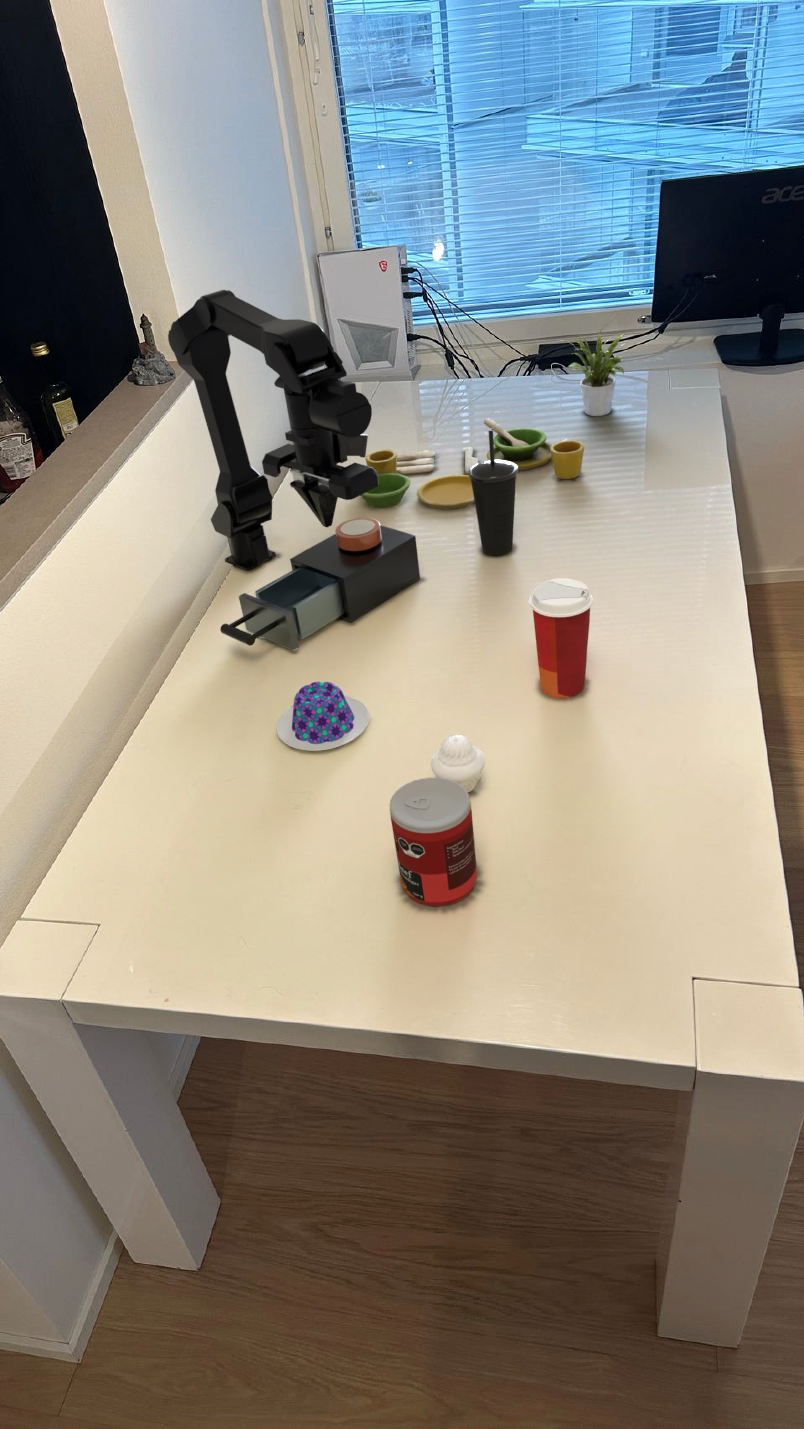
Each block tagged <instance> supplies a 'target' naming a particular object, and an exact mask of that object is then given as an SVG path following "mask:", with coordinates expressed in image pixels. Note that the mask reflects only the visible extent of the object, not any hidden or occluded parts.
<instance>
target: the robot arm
mask: <svg viewBox="0 0 804 1429" xmlns="http://www.w3.org/2000/svg"><path fill="white" fill-rule="evenodd" d="M230 336H232V337H233V338H234V339H237V340H239V341H241V343H242V342H243V343H244V344H245V345H248V346H250V347H252V348H254V349H256V350H257V351H259V352H260V353H261V354H263V356H264V361H265V364H266V366H268V367H269V368H270V369H271V370H272V371H274V372H275V373H276V374H277V375H278V377H277V378H276V379H275V381H274V383H273V384H274V386H275V388H280V389H282V390H283V393H284V400H285V404H286V411H287V415H288V416H287V417H288V422H289V427H290V430H289V431H286V432H284V435H285V440H286V441H289V442H292V444H291V443H287V444H285V445H282V446H279V447H277V448H276V449H273V450H271V451H269V452H267V453H265V454H264V456H263V458H262V461H261V464H262V469H263V474H262V475H261V474H260V473H259V472H258V471H257V470H256V469H255V468H254V467H253V466H252V465H251V462H250V459H249V455H248V451H247V447H246V444H245V440H244V436H243V433H242V429H241V424H240V420H239V417H238V414H237V410H236V406H235V403H234V399H233V398H234V397H233V394H232V391H231V388H230V384H229V381H228V377H227V370H228V367H229V362H230V359H231V354H232V351H231V342H230V339H229V337H230ZM167 340H168V345H169V347H170V349H171V351H172V352H173V354H174V357H175V359H176V362H177V364H178V366H179V367H180V368H181V369H182V370H183V371H184V372H185V373H186V374H187V375H188V376H189V377H190V378H192V380H193V382H194V385H195V388H196V392H197V396H198V399H199V402H200V406H201V409H202V413H203V417H204V421H205V424H206V427H207V430H208V434H209V437H210V441H211V445H212V448H213V452H214V455H215V458H216V462H217V466H218V469H219V474H218V478H217V482H216V485H215V489H214V491H215V496H216V501H217V502H216V503H217V506H216V508H215V510H214V511H213V514H212V516H211V517H210V522H211V524H212V527H213V530H214V531H215V532H216V533H218V534H220V535H222V536H225V537H226V538H227V542H228V547H229V551H230V555H229V556H227V557H225V558H224V562H225V563H226V564H230V565H232V566H235V567H238V568H240V569H243V570H244V571H252V570H253V569H255V568H257V567H259V566H261V565H262V564H264V563H266V562H268V561H270V560H271V559H274V558H275V557H276V556H277V552H276V551H274V550H270V549H269V545H268V541H267V536H266V535H265V530H264V525H262V524H264V523H267V522H270V521H272V520H273V499H274V497H273V495H272V493H271V491H270V490H271V489H270V487H269V480H268V478H267V477H266V476H269V477H272V478H277V477H279V476H280V474H281V473H282V470H281V468H282V467H283V468H287V469H289V473H291V474H292V479H293V480H292V481H291V482H289V485H290V487H291V488H293V489H294V490H295V492H296V493H297V494H298V495H299V496H300V498H301V499H302V500H303V501H304V502H305V504H306V505H307V507H308V508H309V509H310V511H311V512H312V513H313V515H314V516H315V517H316V519H317V520H318V521H319V523H320V524H321V525H322V527H324V528H330V527H332V525H333V523H334V522H333V521H334V517H335V513H336V507H337V503H338V499H342V500H345V501H351V500H354V499H356V498H358V497H361V496H360V495H362V494H364V493H366V492H368V491H370V490H372V489H374V488H376V487H378V486H379V483H378V475H377V471H376V470H375V469H373V468H372V467H369V466H367V465H366V464H362V463H357V462H353V463H351V464H348V465H347V466H342V465H340V464H343V463H345V462H348V460H349V459H348V457H360V458H365V457H366V456H367V455H366V454H367V446H368V440H369V434H366V433H365V432H366V431H367V429H368V428H369V426H370V424H371V420H372V415H373V409H372V404H371V403H370V402H369V401H370V400H369V399H368V398H367V396H366V395H365V394H363V393H361V392H358V391H357V385H356V383H355V382H353V381H343V380H340V379H343V378H345V377H347V375H348V373H347V371H346V369H345V367H344V365H343V363H344V361H343V360H342V359H341V357H340V355H338V353H337V351H336V350H335V349H334V347H333V345H332V344H331V341H330V340H329V338H328V336H327V335H326V333H325V332H324V330H323V329H322V327H321V326H320V325H318V324H317V323H315V322H313V321H309V320H303V319H297V318H295V319H282V318H279V317H277V316H275V315H273V314H270V313H268V312H267V311H265V310H263V309H260V308H259V307H257V306H255V305H253V304H251V303H250V302H248V301H245V300H243V299H242V298H239V297H237V296H236V295H235V293H234V292H232V290H229V289H221V290H218V291H214V292H211V293H207V294H204V295H202V296H200V297H199V298H198V299H197V300H196V301H195V302H194V304H193V306H192V307H191V308H189V309H188V310H187V311H186V312H184V313H183V314H182V315H181V316H179V317H178V318H177V319H176V321H173V322H171V326H170V329H169V330H168V334H167ZM324 366H325V367H324ZM321 367H324V368H321ZM318 368H321V369H319V370H316V369H318ZM314 370H315V371H314ZM311 371H313V372H311ZM308 372H311V373H308ZM306 373H308V374H306Z"/></svg>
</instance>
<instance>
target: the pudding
mask: <svg viewBox="0 0 804 1429" xmlns="http://www.w3.org/2000/svg"><path fill="white" fill-rule="evenodd" d="M369 722H370V712H369V709H368V707H367V706H366V705H365V703H363V702H362V701H360V700H359V699H357V698H355V697H352V696H350V695H345V694H344V692H343V691H342V689H341V688H340V687H339V686H338V685H335V684H334V683H333V682H331V681H322V682H321V681H313V682H311V683H310V684H305V685H303V686H301V688H300V689H299V690H298V692H297V693H296V694H295V695H294V698H293V704H292V705H291V706H290V707H288V708H287V709H286V710H285V711H284V712H282V714H280V717H279V718H278V720H277V723H276V728H275V729H276V734H277V736H278V738H279V739H280V740H281V741H282V742H283V744H286V745H287V746H289V747H291V748H294V749H297V750H302V751H311V752H312V751H313V752H314V751H324V750H325V751H326V750H330V749H334V748H337V747H341V746H343V745H346V744H348V743H350V742H352V741H353V740H355V739H356V738H358V737H359V736H360V735H361V734H362V733H363V732H364V731H365V730H366V729H367V727H368V725H369Z"/></svg>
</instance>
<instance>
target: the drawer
mask: <svg viewBox="0 0 804 1429" xmlns="http://www.w3.org/2000/svg"><path fill="white" fill-rule="evenodd" d="M254 594H255V596H253V595H251V594H248V593H246V592H244V593H241V594H240V595H238V600H239V604H240V609H241V613H242V616H241V617H240V618H238V619H237V620H235V621H233V622H231V623H230V624H228V623H223V624H221V626H220V628H219V630H220V633H221V634H223V635H225V636H227V637H229V638H231V639H234V640H236V641H238V642H240V643H242V644H245V645H247V646H249V647H250V646H253V645H254V644H255V643H256V639H258V638H259V637H260V638H263V639H265V640H268V641H270V642H273V643H275V644H277V645H279V646H281V647H283V648H286V649H288V650H290V651H295V650H297V649H298V648H299V647H300V645H299V641H298V639H300V640H304V639H306V638H308V637H309V636H310V635H312V634H314V633H315V632H317V631H318V630H320V629H322V628H323V627H326V626H327V625H329V624H330V623H331V622H333V621H335V620H337V619H339V618H338V617H339V616H341V615H343V614H344V613H346V611H345V605H344V599H343V593H342V587H341V582H340V581H337V580H335V579H332V578H329V577H326V576H324V575H321V574H318V573H315V572H313V571H310V570H307V569H304V568H302V567H297V568H296V569H294V570H292V569H291V570H290V571H289V572H287V573H285V574H283V575H282V576H280V577H278V578H276V579H274V580H273V581H271V582H269V583H267V584H266V585H265V584H264V585H263V586H262V587H260V588H259V589H257V590H255V591H254ZM242 624H244V626H245V631H244V630H242V629H240V628H237V627H239V626H241V625H242Z"/></svg>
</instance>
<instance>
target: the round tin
mask: <svg viewBox="0 0 804 1429" xmlns="http://www.w3.org/2000/svg"><path fill="white" fill-rule="evenodd" d="M380 525H381V524H380V522H379V521H378V520H376V519H374V518H370V517H357V518H351V519H348V520H345V521H342V522H341V523H339V524H338V525H337V526H336V527H335V530H334V531H335V534H336V538H337V544H338V546H339V547H340V548H341V549H344V550H347V551H361V550H366V549H370V548H372V547H374V546H376V545H378V544H379V543H380V542H381V539H382V536H381V529H380Z"/></svg>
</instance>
